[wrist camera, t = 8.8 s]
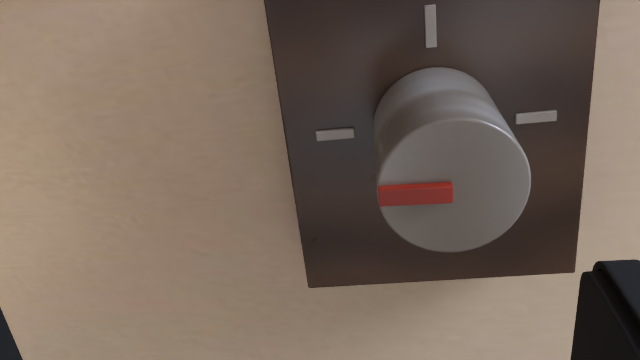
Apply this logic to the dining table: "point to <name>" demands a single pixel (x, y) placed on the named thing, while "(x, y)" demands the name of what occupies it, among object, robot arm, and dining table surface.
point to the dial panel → (390, 66)
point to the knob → (447, 162)
